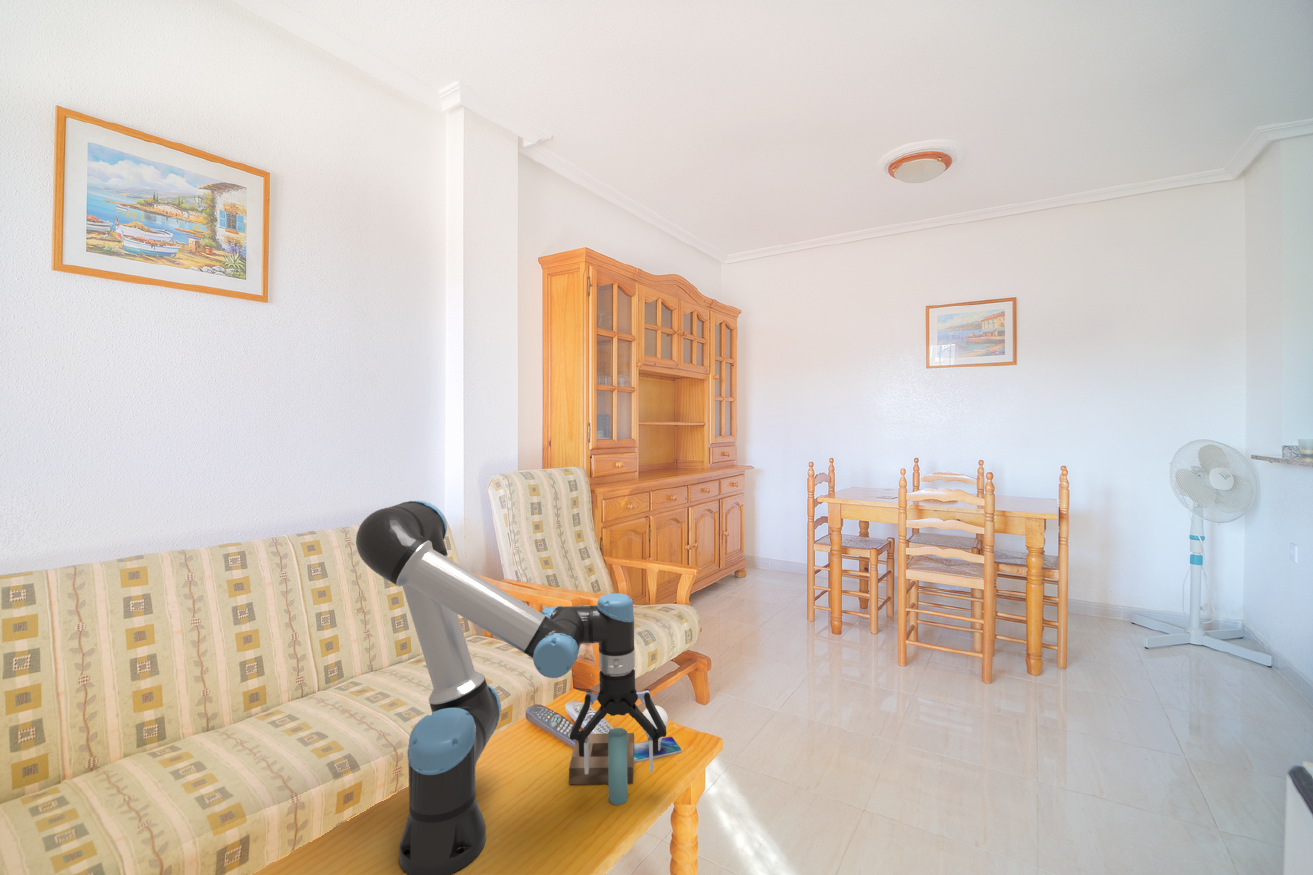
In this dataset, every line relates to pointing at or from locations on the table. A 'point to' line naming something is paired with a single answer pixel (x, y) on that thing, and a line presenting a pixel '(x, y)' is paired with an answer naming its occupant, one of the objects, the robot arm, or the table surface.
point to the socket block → (598, 761)
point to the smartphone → (667, 748)
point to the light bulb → (647, 715)
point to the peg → (617, 766)
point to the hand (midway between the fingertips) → (619, 769)
